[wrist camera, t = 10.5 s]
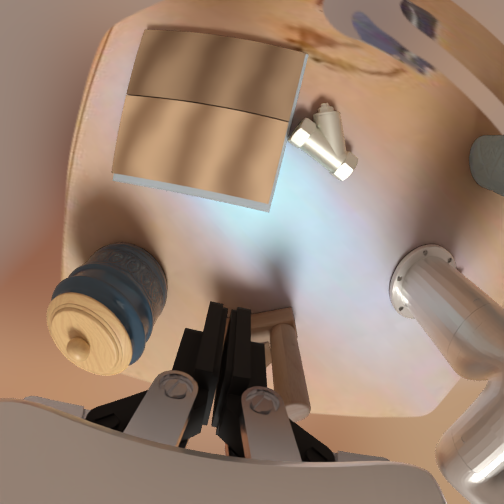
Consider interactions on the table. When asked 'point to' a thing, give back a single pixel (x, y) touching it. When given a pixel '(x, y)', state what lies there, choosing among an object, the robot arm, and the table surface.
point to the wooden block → (282, 358)
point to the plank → (199, 146)
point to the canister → (108, 308)
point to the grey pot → (488, 162)
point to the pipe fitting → (325, 142)
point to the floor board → (217, 72)
